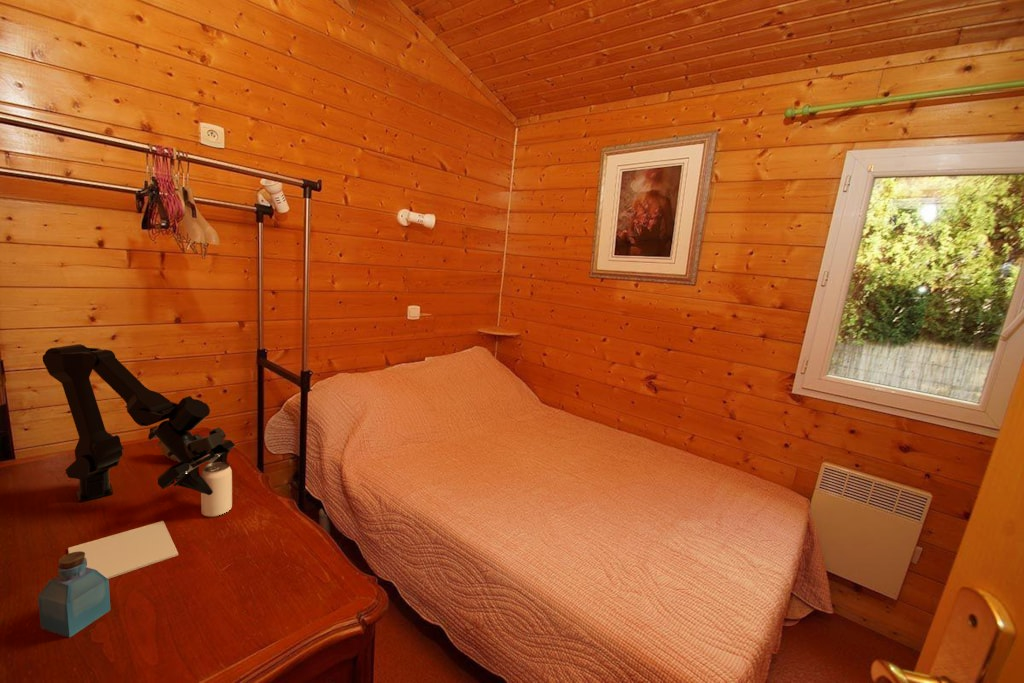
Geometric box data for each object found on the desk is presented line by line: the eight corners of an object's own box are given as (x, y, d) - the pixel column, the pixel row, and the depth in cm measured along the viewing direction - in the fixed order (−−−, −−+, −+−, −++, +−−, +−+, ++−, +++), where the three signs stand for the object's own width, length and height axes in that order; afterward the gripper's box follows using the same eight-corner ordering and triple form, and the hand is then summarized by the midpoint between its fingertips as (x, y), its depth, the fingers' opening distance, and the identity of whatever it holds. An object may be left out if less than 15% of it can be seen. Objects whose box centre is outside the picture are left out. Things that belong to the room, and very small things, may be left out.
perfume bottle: (69, 637, 72) (64, 573, 70) (41, 628, 73) (35, 565, 71) (110, 610, 78) (106, 550, 76) (83, 602, 79) (79, 543, 77)
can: (237, 508, 112) (237, 465, 110) (211, 520, 106) (211, 474, 104) (221, 501, 115) (221, 458, 113) (195, 512, 109) (194, 467, 107)
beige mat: (68, 549, 92) (68, 547, 92) (163, 522, 104) (163, 520, 104) (73, 590, 82) (73, 588, 82) (178, 555, 93) (178, 553, 93)
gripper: (167, 435, 98) (213, 487, 99) (228, 410, 116) (267, 454, 117) (136, 463, 100) (182, 514, 100) (201, 434, 118) (240, 477, 119)
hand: (221, 487), depth 109 cm, fingers closed on can, 6 cm apart
